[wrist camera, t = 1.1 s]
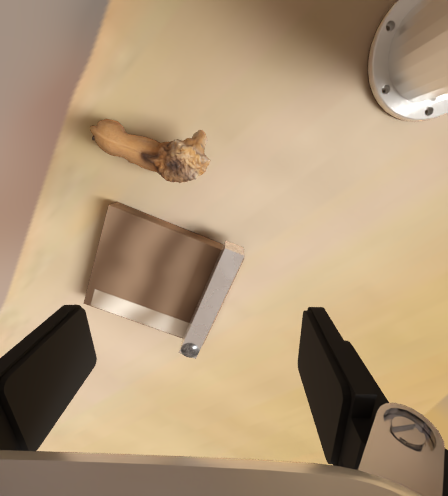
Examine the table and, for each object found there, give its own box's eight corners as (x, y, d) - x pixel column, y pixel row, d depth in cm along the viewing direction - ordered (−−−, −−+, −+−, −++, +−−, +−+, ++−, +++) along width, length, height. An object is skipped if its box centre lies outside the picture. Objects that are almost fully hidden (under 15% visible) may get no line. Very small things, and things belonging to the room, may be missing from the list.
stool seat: (243, 252, 34) (244, 259, 31) (204, 334, 38) (202, 345, 36) (117, 201, 32) (108, 204, 29) (92, 294, 36) (83, 303, 34)
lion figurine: (217, 139, 29) (212, 128, 21) (210, 184, 31) (202, 192, 22) (95, 115, 29) (37, 94, 20) (95, 162, 30) (41, 162, 22)
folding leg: (198, 344, 35) (195, 359, 32) (182, 338, 35) (178, 353, 32) (243, 247, 30) (244, 255, 28) (225, 240, 30) (225, 248, 27)
